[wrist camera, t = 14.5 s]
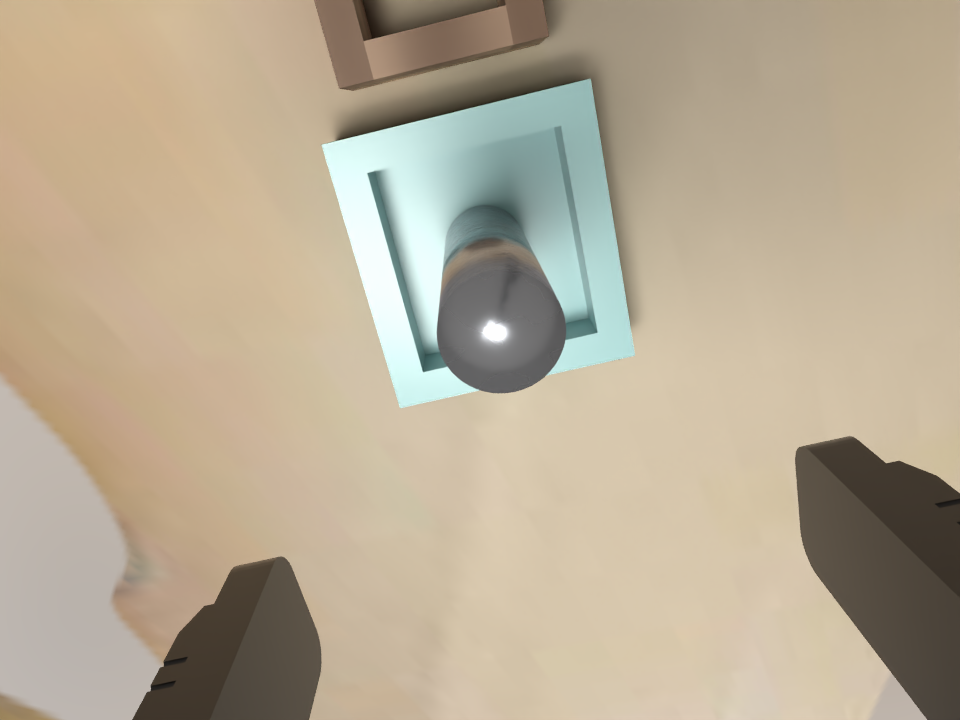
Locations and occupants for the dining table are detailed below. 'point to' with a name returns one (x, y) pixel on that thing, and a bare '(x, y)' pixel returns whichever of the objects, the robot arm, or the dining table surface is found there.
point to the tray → (473, 182)
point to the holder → (423, 40)
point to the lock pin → (496, 305)
